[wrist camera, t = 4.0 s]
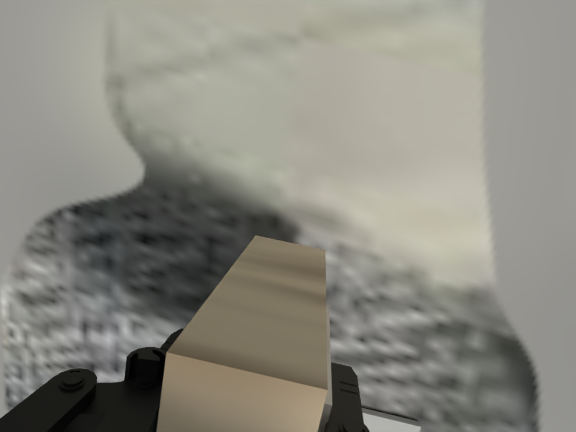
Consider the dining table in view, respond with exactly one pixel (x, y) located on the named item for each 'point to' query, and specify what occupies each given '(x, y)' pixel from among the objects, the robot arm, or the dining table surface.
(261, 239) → the small box
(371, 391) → the dining table surface
